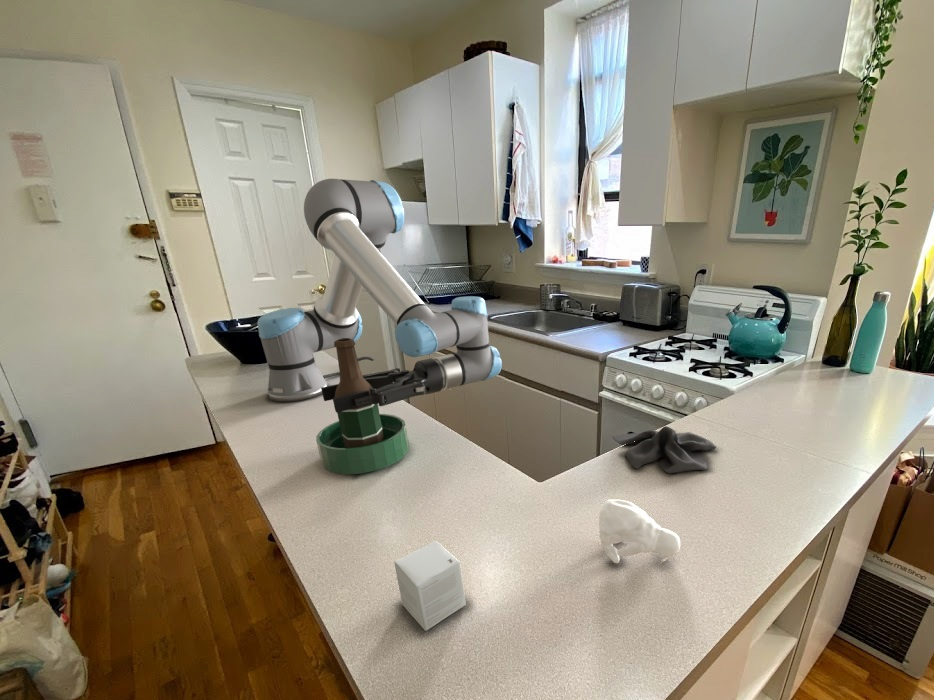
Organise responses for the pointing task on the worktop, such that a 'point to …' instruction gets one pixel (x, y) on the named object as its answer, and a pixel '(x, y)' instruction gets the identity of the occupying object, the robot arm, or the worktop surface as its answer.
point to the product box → (430, 584)
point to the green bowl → (363, 448)
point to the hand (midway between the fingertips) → (328, 399)
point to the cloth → (667, 449)
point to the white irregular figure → (633, 532)
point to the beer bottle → (361, 421)
